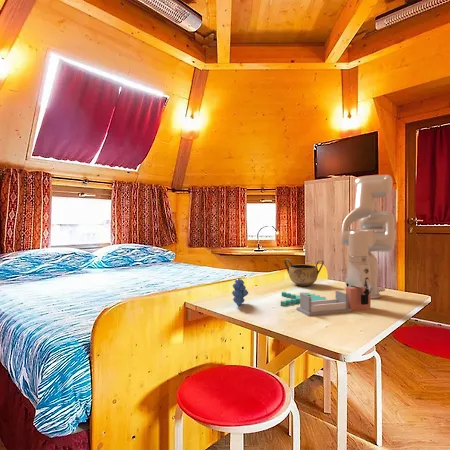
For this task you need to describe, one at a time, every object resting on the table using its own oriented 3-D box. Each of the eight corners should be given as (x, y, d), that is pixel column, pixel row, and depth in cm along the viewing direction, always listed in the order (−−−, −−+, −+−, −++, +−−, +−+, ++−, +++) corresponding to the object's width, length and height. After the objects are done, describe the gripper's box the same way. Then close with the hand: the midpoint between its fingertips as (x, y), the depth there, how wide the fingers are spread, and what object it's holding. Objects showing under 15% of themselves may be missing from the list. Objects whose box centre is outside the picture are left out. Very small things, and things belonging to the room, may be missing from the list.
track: (337, 306, 137) (337, 289, 136) (351, 311, 128) (351, 294, 128) (296, 309, 131) (296, 293, 131) (308, 316, 122) (308, 298, 122)
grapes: (243, 310, 130) (243, 281, 130) (228, 308, 133) (228, 280, 133) (252, 303, 141) (252, 276, 141) (238, 301, 144) (238, 275, 144)
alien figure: (280, 307, 137) (328, 309, 133) (280, 301, 137) (328, 304, 133) (281, 296, 157) (323, 298, 153) (281, 291, 157) (323, 293, 153)
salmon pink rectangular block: (365, 306, 136) (365, 285, 136) (370, 308, 133) (370, 287, 133) (345, 308, 133) (345, 287, 133) (350, 310, 130) (350, 288, 130)
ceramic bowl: (325, 284, 184) (325, 258, 184) (321, 289, 168) (321, 261, 168) (287, 281, 193) (287, 256, 193) (280, 286, 178) (280, 259, 178)
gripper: (381, 262, 125) (381, 306, 126) (351, 257, 142) (351, 296, 142) (365, 262, 123) (365, 308, 124) (337, 257, 140) (337, 297, 140)
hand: (358, 301), depth 133 cm, fingers open, 7 cm apart
